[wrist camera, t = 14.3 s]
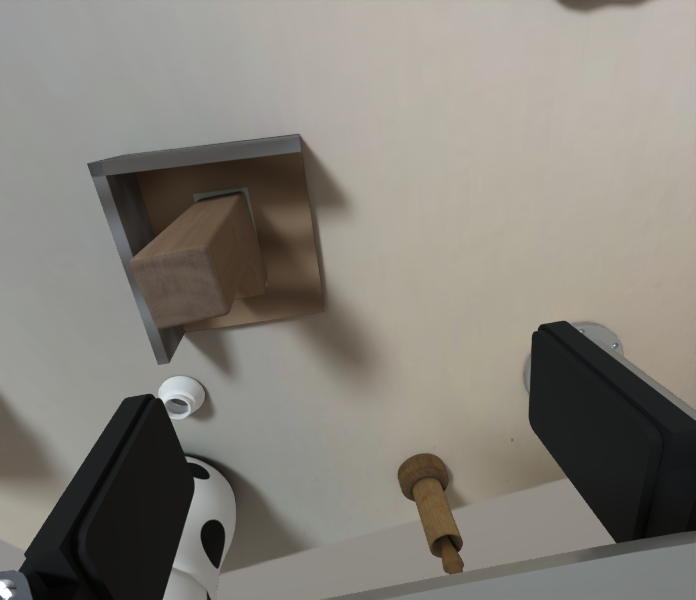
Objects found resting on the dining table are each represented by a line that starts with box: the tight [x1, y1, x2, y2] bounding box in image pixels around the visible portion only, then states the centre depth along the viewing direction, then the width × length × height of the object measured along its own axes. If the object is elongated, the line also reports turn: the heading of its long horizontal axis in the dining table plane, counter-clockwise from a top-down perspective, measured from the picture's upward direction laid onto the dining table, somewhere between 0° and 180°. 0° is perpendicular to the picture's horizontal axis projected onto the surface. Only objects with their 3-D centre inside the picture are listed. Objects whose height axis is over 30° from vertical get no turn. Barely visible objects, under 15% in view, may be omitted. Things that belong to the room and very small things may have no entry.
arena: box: [87, 134, 325, 365], centre depth 39 cm, size 18×16×7 cm
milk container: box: [163, 455, 236, 600], centre depth 46 cm, size 17×17×18 cm
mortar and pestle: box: [398, 454, 464, 574], centre depth 50 cm, size 7×6×18 cm
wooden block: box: [130, 191, 267, 329], centre depth 32 cm, size 9×4×18 cm, turn 10°
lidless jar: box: [158, 376, 205, 419], centre depth 47 cm, size 5×3×5 cm
